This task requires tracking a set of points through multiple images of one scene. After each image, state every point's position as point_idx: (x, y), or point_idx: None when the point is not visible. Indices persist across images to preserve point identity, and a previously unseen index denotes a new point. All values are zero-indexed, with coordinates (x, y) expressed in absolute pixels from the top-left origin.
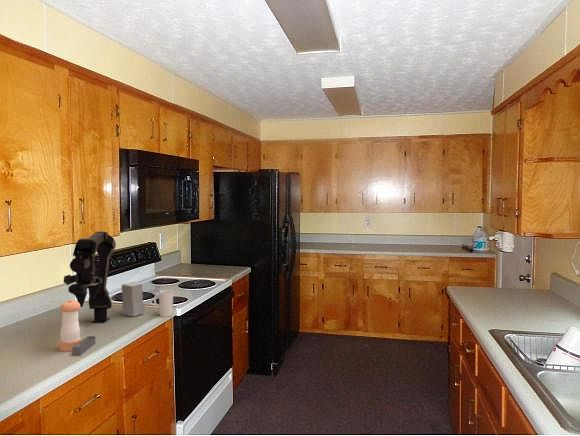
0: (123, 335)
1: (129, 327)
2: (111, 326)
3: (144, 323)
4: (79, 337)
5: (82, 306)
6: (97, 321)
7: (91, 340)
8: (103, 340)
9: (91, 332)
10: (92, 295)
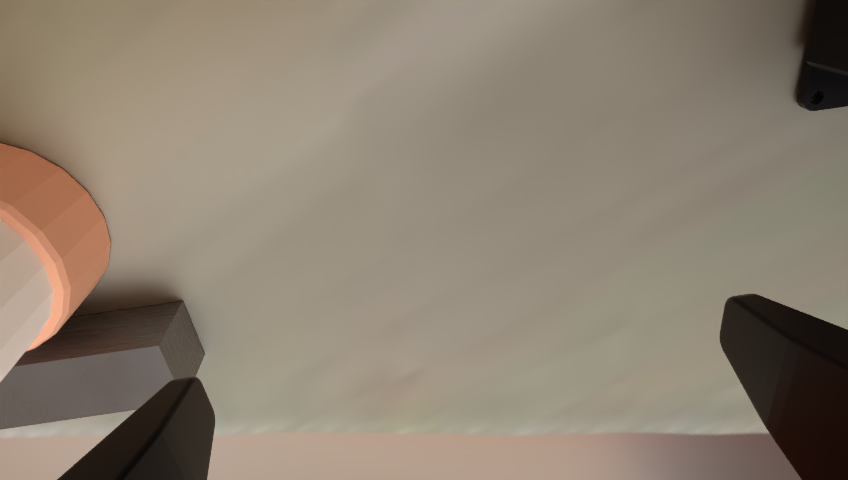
0: (442, 431)
1: (639, 383)
2: (667, 238)
3: (742, 429)
4: (41, 332)
5: (202, 433)
6: (810, 33)
7: (106, 406)
8: (295, 367)
9: (467, 157)
10: (834, 464)
